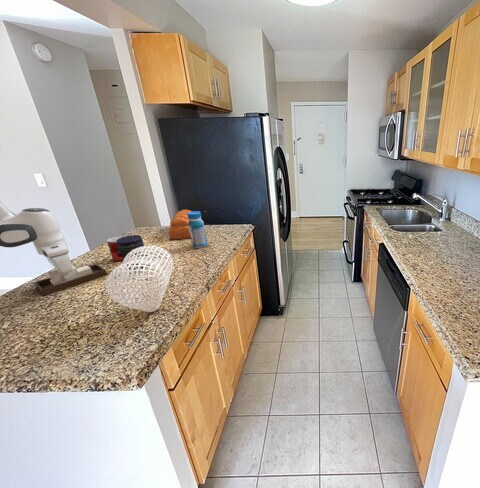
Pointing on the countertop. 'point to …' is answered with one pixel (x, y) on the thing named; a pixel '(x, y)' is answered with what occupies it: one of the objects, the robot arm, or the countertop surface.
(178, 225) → the bread
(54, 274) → the white block
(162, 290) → the white mesh basket
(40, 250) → the robot arm
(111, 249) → the canned food
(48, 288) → the tray
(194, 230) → the beverage bottle
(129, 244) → the storage jar
